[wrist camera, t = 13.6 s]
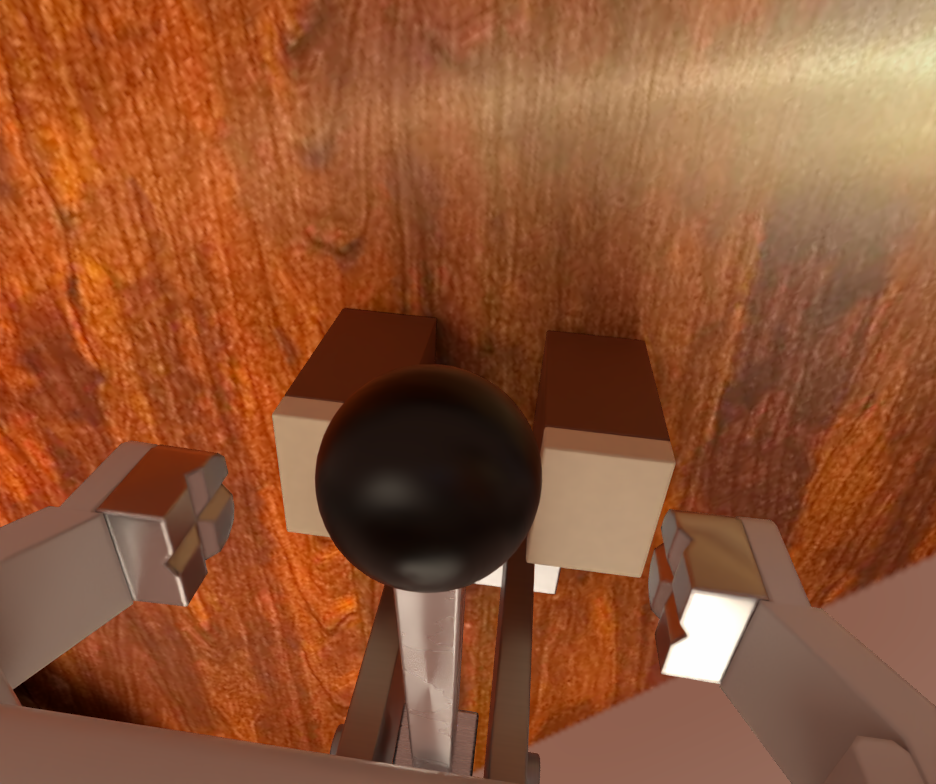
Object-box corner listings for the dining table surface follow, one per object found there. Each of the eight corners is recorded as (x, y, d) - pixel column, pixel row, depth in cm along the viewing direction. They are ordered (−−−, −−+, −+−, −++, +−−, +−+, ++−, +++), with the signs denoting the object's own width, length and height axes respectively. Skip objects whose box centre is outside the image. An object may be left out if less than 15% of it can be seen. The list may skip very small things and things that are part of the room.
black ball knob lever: (337, 306, 9) (258, 486, 6) (559, 330, 8) (551, 523, 6) (397, 719, 21) (376, 828, 19) (488, 732, 20) (478, 844, 18)
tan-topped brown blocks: (645, 340, 22) (677, 462, 17) (621, 440, 25) (641, 579, 19) (343, 307, 23) (270, 414, 17) (347, 408, 26) (286, 532, 20)
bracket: (384, 433, 26) (264, 741, 15) (579, 456, 26) (596, 792, 15) (386, 552, 30) (290, 866, 19) (555, 574, 29) (555, 911, 19)
